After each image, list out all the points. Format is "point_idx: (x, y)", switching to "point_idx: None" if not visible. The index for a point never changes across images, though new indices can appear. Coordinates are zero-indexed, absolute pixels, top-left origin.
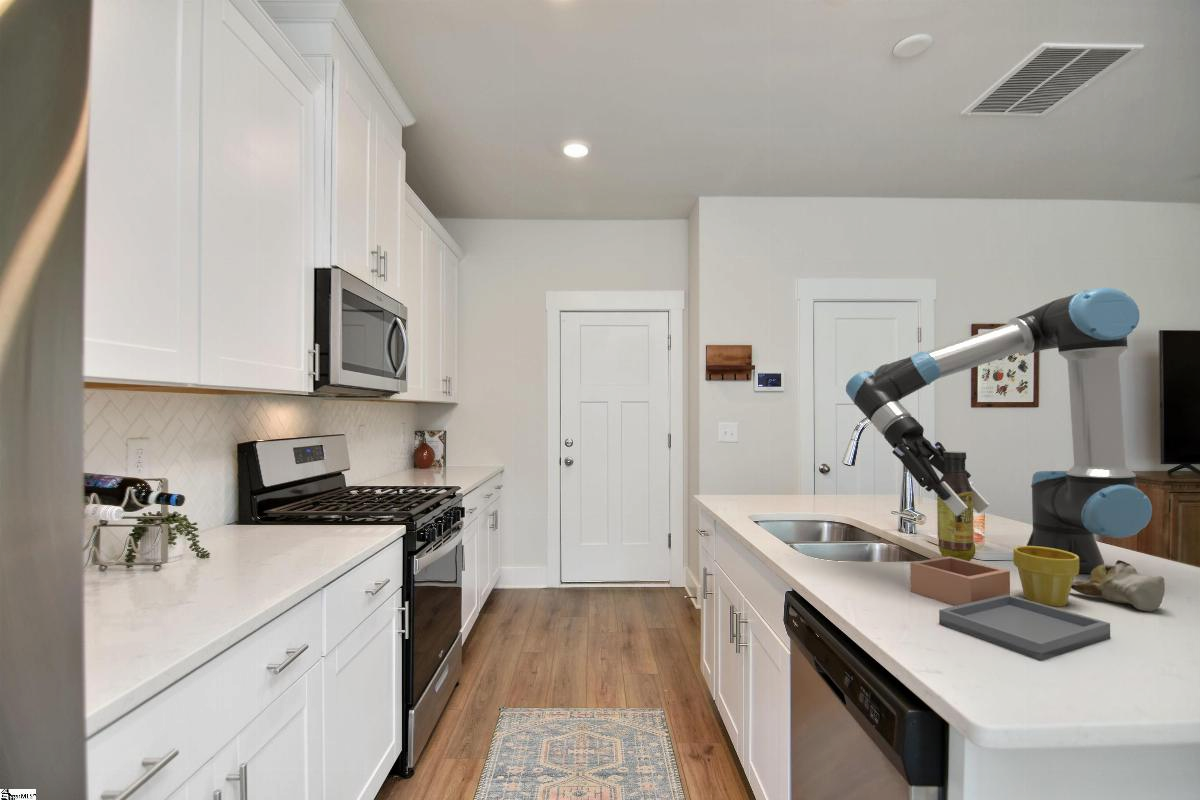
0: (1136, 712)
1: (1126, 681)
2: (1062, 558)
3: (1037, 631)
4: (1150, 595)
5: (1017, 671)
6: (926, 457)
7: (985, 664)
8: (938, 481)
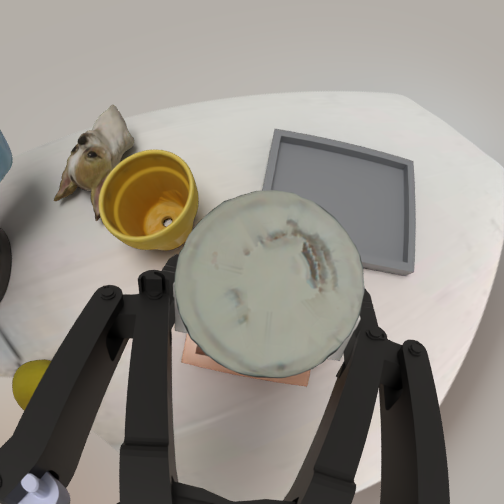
0: (427, 114)
1: (382, 119)
2: (114, 187)
3: (348, 182)
4: (126, 126)
5: (443, 178)
6: (315, 470)
7: (454, 200)
8: (377, 328)
